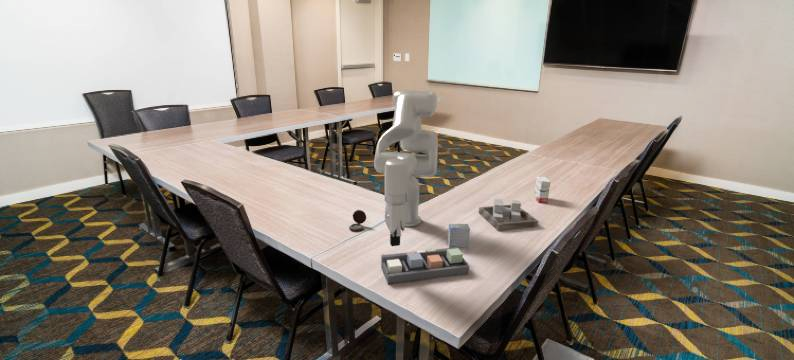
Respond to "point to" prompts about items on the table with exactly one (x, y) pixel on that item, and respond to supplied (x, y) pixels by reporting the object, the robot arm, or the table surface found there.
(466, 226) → the medicine box
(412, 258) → the key slate
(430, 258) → the peach square block
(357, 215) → the compass
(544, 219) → the table surface
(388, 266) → the key ivory
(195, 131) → the table surface
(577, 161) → the table surface
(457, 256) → the key sage
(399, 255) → the grey compartment tray
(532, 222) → the square grey tray
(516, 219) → the gray cube cluster
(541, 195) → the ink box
